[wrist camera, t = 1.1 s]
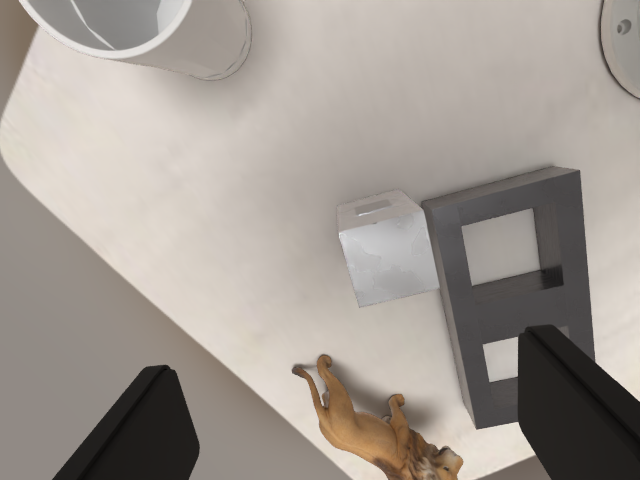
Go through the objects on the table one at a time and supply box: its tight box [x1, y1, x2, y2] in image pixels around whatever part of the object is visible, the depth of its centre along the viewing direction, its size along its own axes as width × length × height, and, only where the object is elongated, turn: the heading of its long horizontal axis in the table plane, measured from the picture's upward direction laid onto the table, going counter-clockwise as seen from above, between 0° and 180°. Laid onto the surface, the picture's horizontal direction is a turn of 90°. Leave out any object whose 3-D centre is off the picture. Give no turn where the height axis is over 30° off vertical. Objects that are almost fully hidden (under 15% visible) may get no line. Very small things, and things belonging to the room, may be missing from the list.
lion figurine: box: [292, 355, 463, 480], centre depth 29 cm, size 15×5×9 cm, turn 67°
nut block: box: [337, 189, 440, 308], centre depth 24 cm, size 5×5×8 cm
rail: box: [422, 166, 595, 430], centre depth 28 cm, size 10×20×3 cm, turn 16°
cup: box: [19, 0, 252, 81], centre depth 19 cm, size 8×8×12 cm
